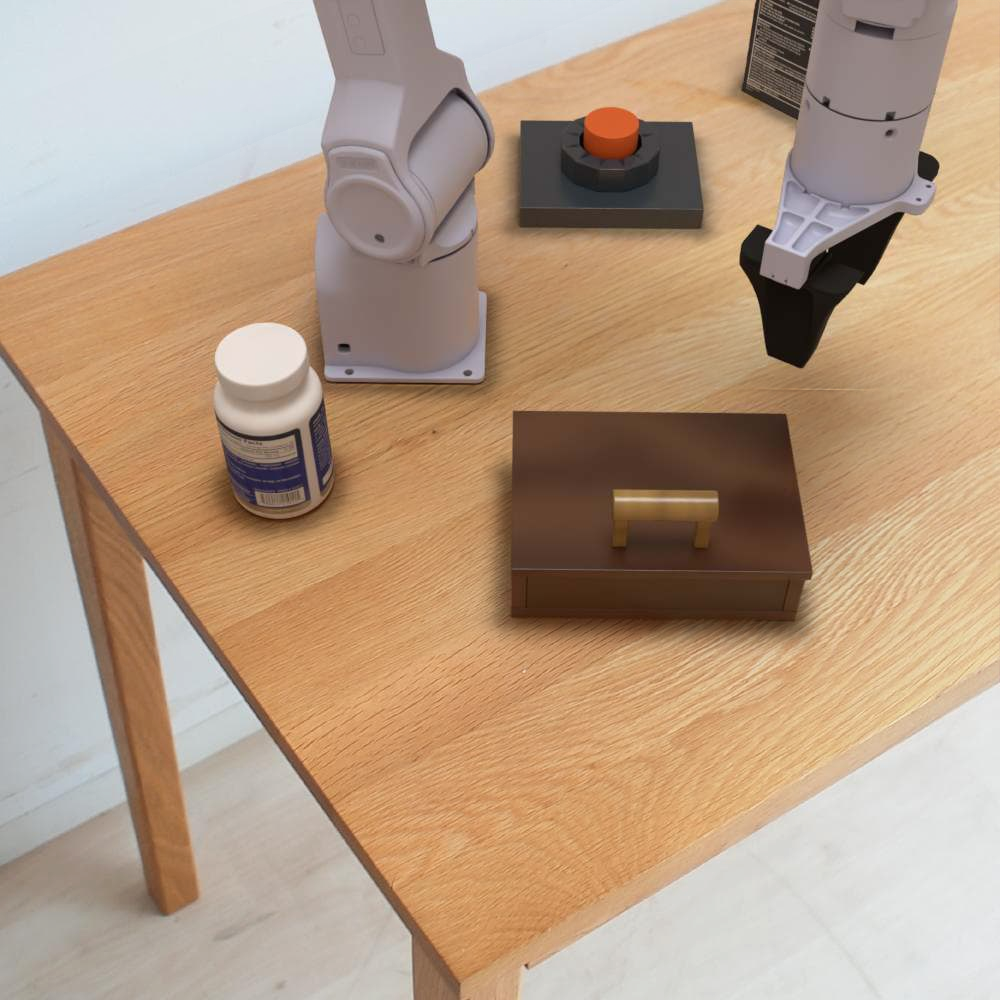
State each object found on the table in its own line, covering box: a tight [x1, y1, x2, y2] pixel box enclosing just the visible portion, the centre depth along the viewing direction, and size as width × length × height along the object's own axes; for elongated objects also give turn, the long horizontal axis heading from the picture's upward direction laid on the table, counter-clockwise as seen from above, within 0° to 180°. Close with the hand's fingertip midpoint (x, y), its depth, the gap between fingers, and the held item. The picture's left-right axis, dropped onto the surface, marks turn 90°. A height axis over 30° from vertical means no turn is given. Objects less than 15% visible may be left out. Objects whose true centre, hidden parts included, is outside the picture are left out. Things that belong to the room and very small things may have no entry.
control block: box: [518, 115, 705, 230], centre depth 97 cm, size 12×10×4 cm
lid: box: [510, 410, 814, 581], centre depth 72 cm, size 11×15×4 cm
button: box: [583, 106, 639, 159], centre depth 96 cm, size 4×4×2 cm
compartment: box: [510, 575, 806, 621], centre depth 76 cm, size 10×15×4 cm
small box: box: [741, 0, 820, 120], centre depth 101 cm, size 11×6×10 cm, turn 44°
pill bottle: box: [212, 322, 335, 520], centre depth 77 cm, size 6×6×10 cm
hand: (818, 315), depth 75 cm, fingers open, 7 cm apart
